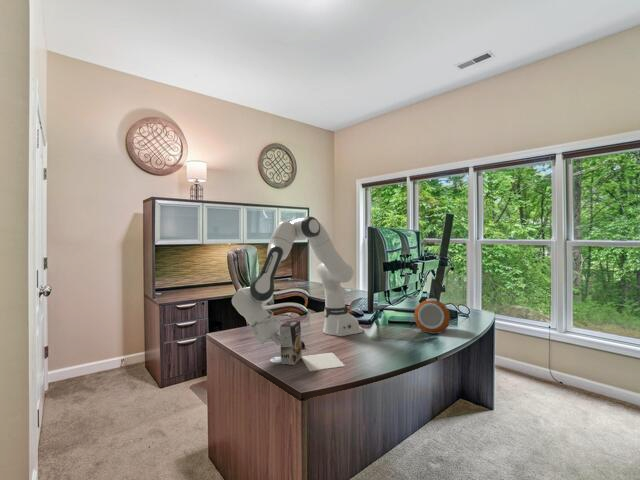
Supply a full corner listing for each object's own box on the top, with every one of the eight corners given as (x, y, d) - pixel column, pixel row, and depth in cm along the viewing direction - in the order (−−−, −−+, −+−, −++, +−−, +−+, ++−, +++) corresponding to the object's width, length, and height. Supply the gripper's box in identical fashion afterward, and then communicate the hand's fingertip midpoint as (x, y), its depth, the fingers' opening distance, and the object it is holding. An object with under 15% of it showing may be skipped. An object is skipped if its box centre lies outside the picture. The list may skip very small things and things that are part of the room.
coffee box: (295, 365, 136) (293, 326, 136) (280, 364, 138) (278, 326, 138) (302, 356, 145) (300, 320, 145) (289, 355, 147) (287, 320, 146)
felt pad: (332, 353, 150) (332, 352, 150) (345, 366, 135) (345, 365, 135) (300, 357, 146) (300, 356, 146) (309, 371, 130) (309, 370, 130)
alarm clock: (412, 332, 179) (412, 301, 179) (415, 324, 196) (415, 295, 195) (450, 336, 172) (449, 303, 172) (450, 327, 188) (450, 297, 188)
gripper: (254, 321, 134) (277, 346, 132) (272, 309, 154) (292, 331, 152) (244, 331, 135) (266, 356, 133) (263, 318, 155) (283, 340, 153)
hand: (280, 343), depth 143 cm, fingers closed
